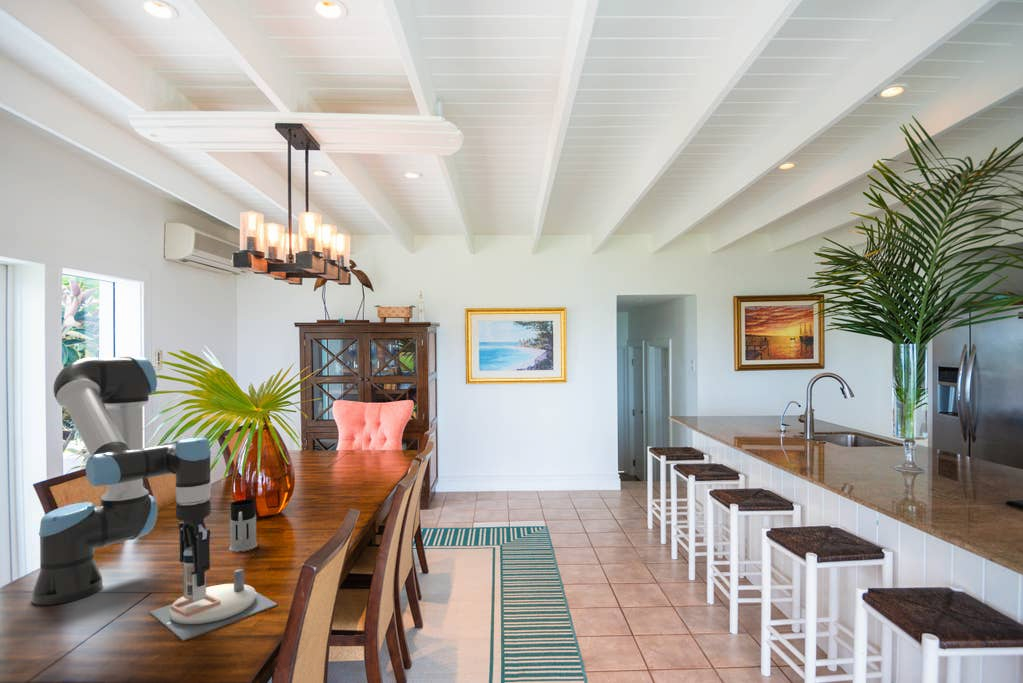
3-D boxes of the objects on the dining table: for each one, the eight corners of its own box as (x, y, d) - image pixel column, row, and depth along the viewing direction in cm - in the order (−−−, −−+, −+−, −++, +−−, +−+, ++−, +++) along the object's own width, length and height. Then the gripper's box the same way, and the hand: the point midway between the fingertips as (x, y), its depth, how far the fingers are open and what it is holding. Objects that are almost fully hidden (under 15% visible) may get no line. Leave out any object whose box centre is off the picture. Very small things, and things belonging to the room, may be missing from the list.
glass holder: (258, 541, 191) (258, 497, 192) (255, 555, 178) (254, 508, 178) (230, 544, 188) (230, 500, 189) (224, 559, 175) (224, 511, 175)
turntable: (194, 631, 127) (193, 603, 127) (156, 611, 138) (155, 584, 138) (270, 600, 143) (270, 574, 143) (230, 583, 154) (230, 560, 154)
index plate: (183, 641, 125) (183, 637, 125) (149, 613, 139) (149, 609, 139) (277, 605, 142) (277, 602, 142) (239, 583, 156) (239, 580, 156)
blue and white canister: (209, 595, 137) (208, 547, 137) (187, 602, 134) (187, 552, 134) (201, 590, 140) (201, 543, 141) (180, 597, 137) (180, 548, 137)
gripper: (224, 503, 135) (226, 599, 134) (195, 492, 146) (196, 581, 146) (191, 510, 129) (192, 611, 128) (163, 498, 140) (164, 591, 140)
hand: (194, 595), depth 137 cm, fingers closed on blue and white canister, 5 cm apart
